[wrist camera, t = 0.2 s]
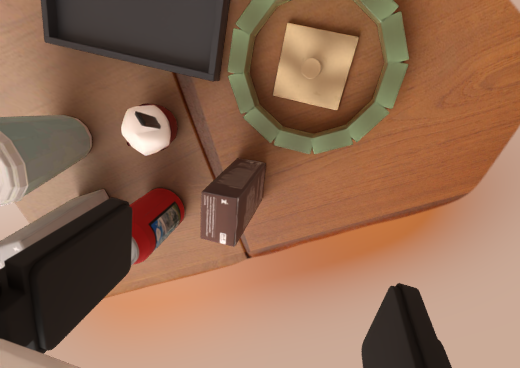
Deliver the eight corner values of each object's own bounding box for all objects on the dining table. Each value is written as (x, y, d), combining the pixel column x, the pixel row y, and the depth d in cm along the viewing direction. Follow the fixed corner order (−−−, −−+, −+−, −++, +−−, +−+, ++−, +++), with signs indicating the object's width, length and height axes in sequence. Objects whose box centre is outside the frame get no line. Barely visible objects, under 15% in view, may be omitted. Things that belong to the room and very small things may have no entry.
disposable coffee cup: (112, 124, 44) (13, 151, 30) (97, 183, 48) (5, 229, 35) (50, 89, 44) (-77, 100, 30) (40, 151, 49) (-73, 184, 35)
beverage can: (175, 232, 49) (130, 281, 38) (141, 208, 48) (85, 250, 37) (194, 203, 46) (151, 246, 35) (157, 177, 45) (102, 213, 35)
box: (234, 157, 41) (200, 190, 31) (266, 162, 41) (242, 198, 30) (232, 196, 44) (198, 240, 33) (262, 202, 43) (238, 248, 32)
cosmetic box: (77, 196, 50) (-25, 248, 36) (109, 186, 48) (14, 238, 34) (100, 239, 53) (14, 304, 38) (132, 231, 50) (53, 298, 36)
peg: (288, 23, 34) (282, 17, 30) (358, 37, 33) (362, 33, 29) (273, 94, 37) (266, 98, 33) (337, 109, 36) (337, 115, 32)
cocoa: (143, 148, 44) (81, 175, 33) (131, 104, 42) (60, 118, 31) (202, 142, 42) (156, 169, 31) (192, 95, 40) (139, 107, 29)
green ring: (250, -43, 33) (244, -51, 30) (430, -12, 30) (439, -18, 28) (225, 127, 40) (218, 131, 38) (367, 163, 38) (369, 169, 35)
